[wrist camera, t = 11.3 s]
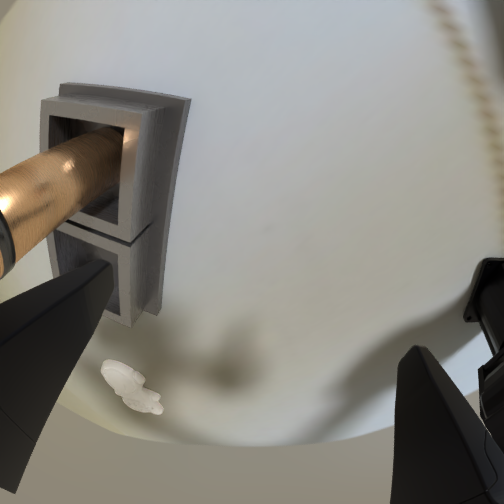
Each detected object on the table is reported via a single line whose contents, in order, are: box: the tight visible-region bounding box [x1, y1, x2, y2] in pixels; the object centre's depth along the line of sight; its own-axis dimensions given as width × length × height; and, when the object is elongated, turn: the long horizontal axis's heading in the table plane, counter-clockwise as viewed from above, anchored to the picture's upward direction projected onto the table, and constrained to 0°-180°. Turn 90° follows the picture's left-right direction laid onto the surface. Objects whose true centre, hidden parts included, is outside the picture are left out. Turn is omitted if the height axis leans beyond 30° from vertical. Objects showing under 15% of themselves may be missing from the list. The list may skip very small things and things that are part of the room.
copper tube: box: [0, 127, 124, 280], centre depth 14 cm, size 5×5×13 cm
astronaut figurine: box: [101, 359, 164, 415], centre depth 38 cm, size 9×12×3 cm
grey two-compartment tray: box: [40, 83, 191, 328], centre depth 21 cm, size 19×11×4 cm, turn 165°
